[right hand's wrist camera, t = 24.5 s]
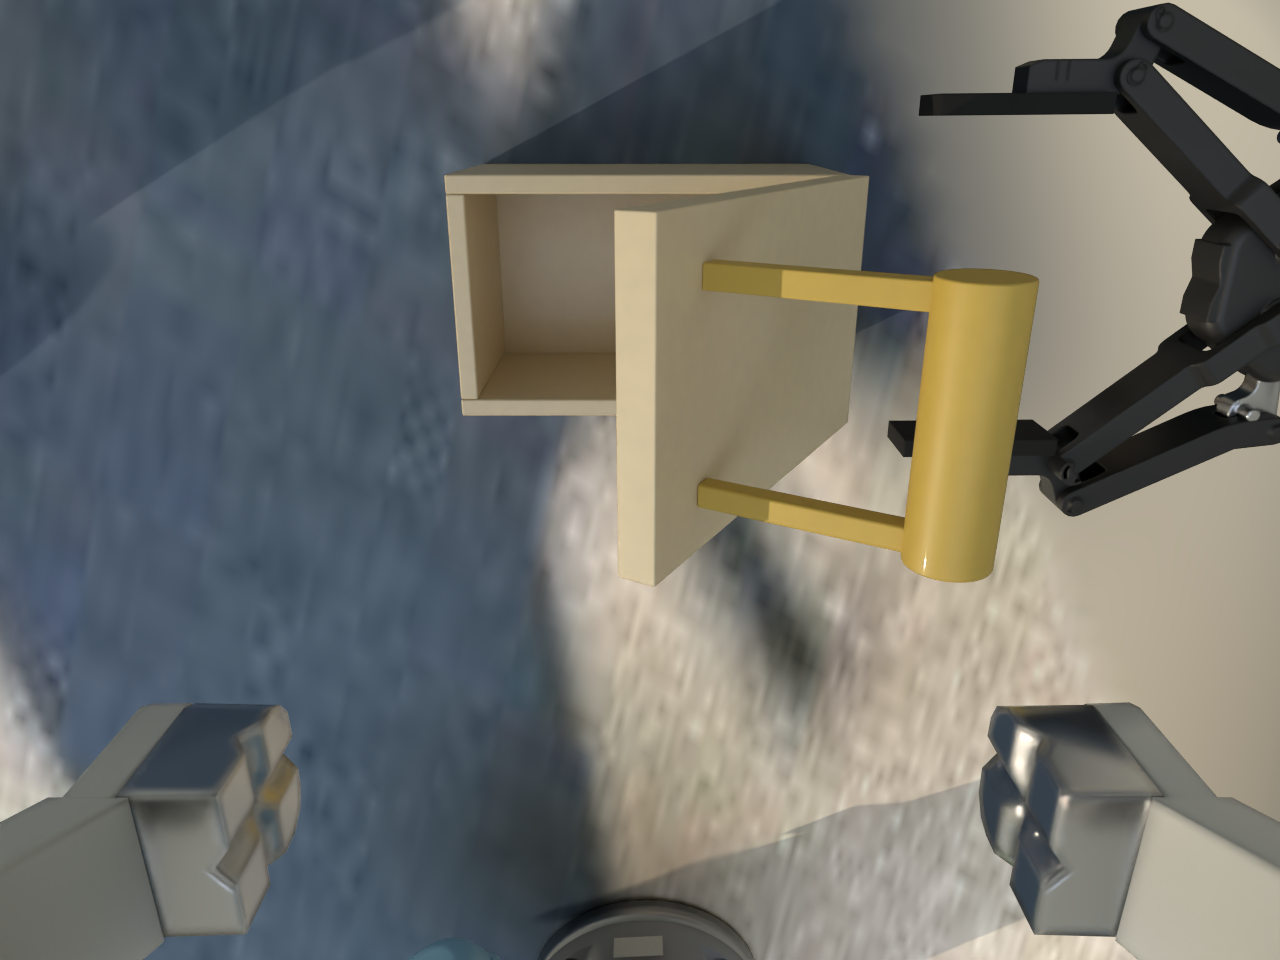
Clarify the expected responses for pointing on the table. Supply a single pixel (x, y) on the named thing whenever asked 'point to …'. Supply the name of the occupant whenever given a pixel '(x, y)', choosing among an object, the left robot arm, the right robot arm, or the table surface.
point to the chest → (556, 273)
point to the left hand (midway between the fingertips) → (910, 282)
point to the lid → (799, 377)
